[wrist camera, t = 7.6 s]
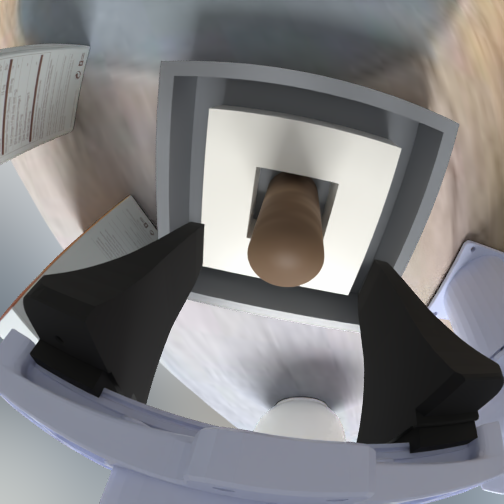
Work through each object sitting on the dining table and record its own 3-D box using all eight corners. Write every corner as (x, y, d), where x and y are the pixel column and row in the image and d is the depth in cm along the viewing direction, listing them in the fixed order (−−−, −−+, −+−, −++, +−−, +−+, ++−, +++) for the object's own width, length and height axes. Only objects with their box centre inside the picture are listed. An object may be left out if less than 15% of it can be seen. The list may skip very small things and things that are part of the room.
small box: (131, 191, 20) (9, 306, 9) (178, 255, 22) (97, 392, 12) (81, 233, 23) (-9, 328, 12) (121, 283, 26) (50, 388, 15)
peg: (323, 176, 16) (334, 232, 11) (311, 221, 18) (312, 293, 12) (271, 165, 17) (253, 214, 11) (263, 211, 18) (242, 278, 13)
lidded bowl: (298, 375, 29) (289, 467, 20) (365, 405, 32) (367, 478, 23) (238, 405, 36) (222, 474, 27) (303, 429, 39) (296, 489, 30)
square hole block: (429, 113, 13) (459, 124, 10) (362, 297, 22) (368, 334, 18) (190, 64, 14) (161, 61, 11) (182, 260, 23) (162, 292, 19)
